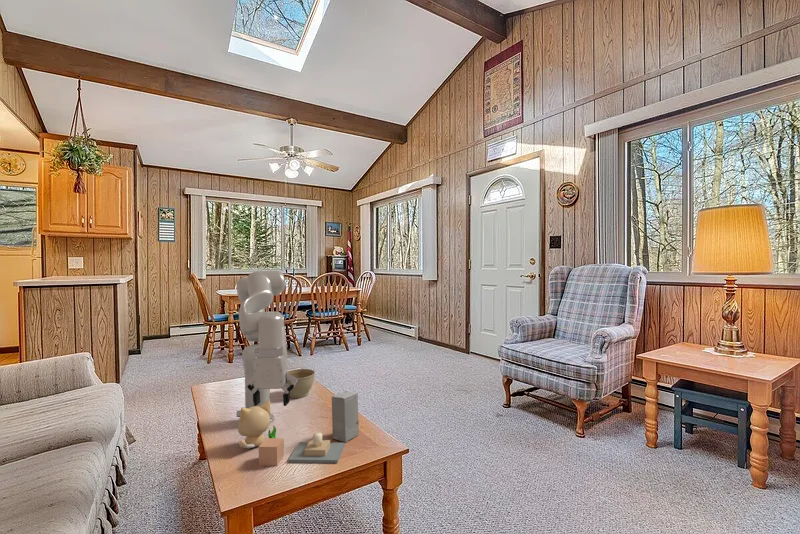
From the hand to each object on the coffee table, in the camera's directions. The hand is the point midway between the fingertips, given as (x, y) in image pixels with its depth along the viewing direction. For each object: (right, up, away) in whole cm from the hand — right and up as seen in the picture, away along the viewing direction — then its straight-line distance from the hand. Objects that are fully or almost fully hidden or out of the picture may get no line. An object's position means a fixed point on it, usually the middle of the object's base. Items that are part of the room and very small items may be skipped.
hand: (271, 404), depth 124 cm
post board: (+14, -18, +4) cm, 24 cm away
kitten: (-9, -19, +11) cm, 24 cm away
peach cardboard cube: (0, -18, 0) cm, 18 cm away
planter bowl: (-8, -19, +63) cm, 66 cm away
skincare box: (+22, -18, +17) cm, 33 cm away
